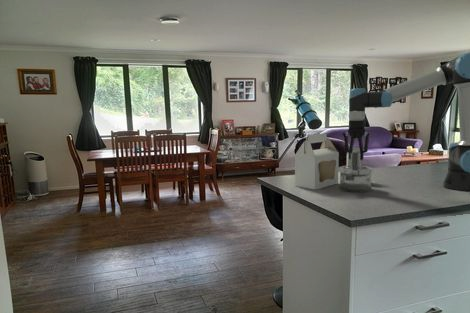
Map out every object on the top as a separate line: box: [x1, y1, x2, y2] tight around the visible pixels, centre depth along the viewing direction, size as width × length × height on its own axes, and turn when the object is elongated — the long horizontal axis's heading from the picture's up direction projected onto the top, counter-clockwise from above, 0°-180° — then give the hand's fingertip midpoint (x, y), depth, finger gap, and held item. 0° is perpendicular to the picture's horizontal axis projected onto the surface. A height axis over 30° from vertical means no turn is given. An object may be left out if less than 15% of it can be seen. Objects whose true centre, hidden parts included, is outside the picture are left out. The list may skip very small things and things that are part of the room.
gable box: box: [294, 132, 340, 191], centre depth 187 cm, size 22×13×28 cm, turn 131°
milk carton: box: [346, 147, 363, 166], centre depth 194 cm, size 7×7×19 cm
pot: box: [338, 165, 374, 193], centre depth 173 cm, size 16×22×11 cm
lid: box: [347, 151, 366, 170], centre depth 175 cm, size 10×10×10 cm
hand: (355, 165), depth 175 cm, fingers open, 3 cm apart
